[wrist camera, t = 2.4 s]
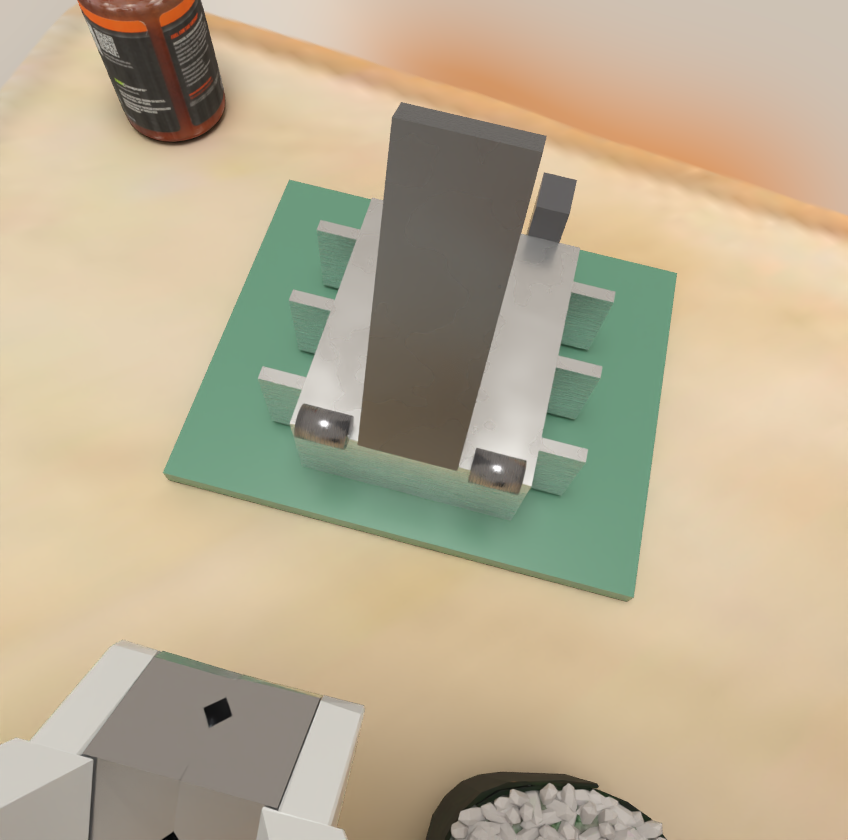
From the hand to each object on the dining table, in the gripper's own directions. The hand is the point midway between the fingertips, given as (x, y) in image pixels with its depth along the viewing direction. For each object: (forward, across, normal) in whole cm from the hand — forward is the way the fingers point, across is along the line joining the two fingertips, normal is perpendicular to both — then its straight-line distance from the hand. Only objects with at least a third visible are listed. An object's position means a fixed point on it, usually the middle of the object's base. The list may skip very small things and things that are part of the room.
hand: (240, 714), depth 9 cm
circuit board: (+29, 0, +4) cm, 29 cm away
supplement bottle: (+38, +19, -5) cm, 43 cm away
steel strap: (+17, 0, -1) cm, 17 cm away
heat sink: (+27, 0, +5) cm, 28 cm away
